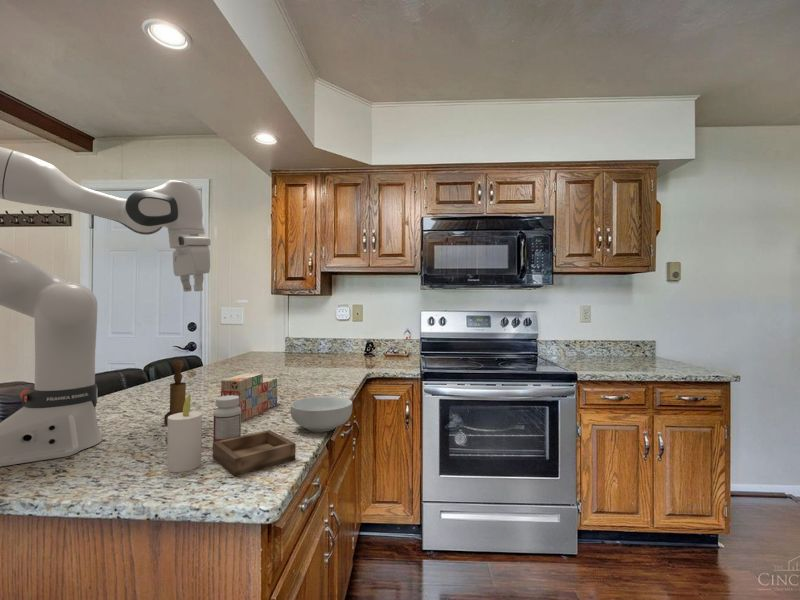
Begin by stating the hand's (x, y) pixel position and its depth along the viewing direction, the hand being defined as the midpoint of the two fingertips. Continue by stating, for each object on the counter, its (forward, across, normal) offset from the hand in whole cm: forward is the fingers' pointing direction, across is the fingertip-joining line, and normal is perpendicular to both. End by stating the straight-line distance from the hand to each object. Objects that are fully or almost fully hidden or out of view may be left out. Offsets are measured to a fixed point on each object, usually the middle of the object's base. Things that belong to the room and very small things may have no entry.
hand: (192, 291), depth 110 cm
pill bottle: (+37, +22, -2) cm, 43 cm away
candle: (+36, +29, -14) cm, 48 cm away
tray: (+37, +36, -2) cm, 51 cm away
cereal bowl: (+40, +26, +21) cm, 52 cm away
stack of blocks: (+40, -3, +14) cm, 42 cm away
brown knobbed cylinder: (+38, -7, -6) cm, 39 cm away
